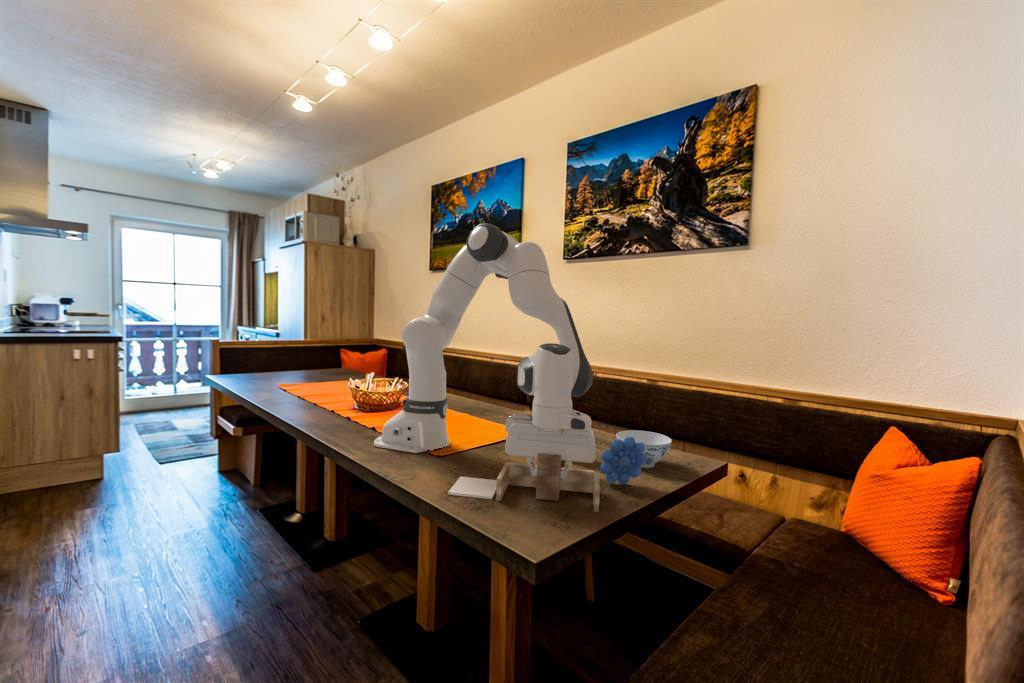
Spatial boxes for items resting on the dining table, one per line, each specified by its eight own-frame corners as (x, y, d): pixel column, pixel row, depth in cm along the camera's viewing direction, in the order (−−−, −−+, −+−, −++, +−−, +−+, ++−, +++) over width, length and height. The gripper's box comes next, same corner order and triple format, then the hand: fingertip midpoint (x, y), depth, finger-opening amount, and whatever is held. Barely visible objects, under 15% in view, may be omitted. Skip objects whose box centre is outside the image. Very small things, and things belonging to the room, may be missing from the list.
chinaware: (677, 463, 129) (678, 437, 129) (659, 477, 117) (661, 448, 117) (627, 452, 138) (628, 427, 138) (606, 464, 126) (607, 437, 126)
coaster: (448, 494, 100) (448, 492, 100) (460, 478, 110) (460, 476, 110) (491, 499, 99) (492, 496, 99) (500, 483, 109) (500, 480, 109)
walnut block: (535, 498, 100) (537, 454, 99) (538, 490, 105) (540, 447, 104) (558, 501, 99) (560, 456, 98) (559, 492, 104) (561, 449, 103)
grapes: (639, 478, 116) (642, 432, 115) (649, 488, 109) (651, 439, 108) (594, 477, 115) (597, 431, 114) (601, 487, 108) (603, 438, 108)
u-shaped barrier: (495, 500, 98) (496, 478, 98) (504, 482, 109) (505, 462, 109) (598, 511, 95) (599, 488, 94) (597, 491, 106) (598, 471, 105)
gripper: (503, 416, 99) (500, 477, 100) (597, 423, 96) (594, 487, 97) (508, 410, 106) (505, 468, 106) (597, 417, 102) (593, 477, 103)
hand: (548, 477), depth 102 cm, fingers closed on walnut block, 5 cm apart
